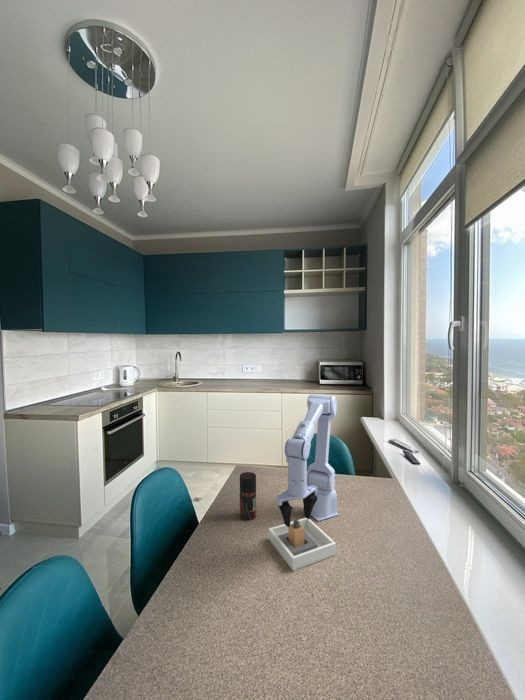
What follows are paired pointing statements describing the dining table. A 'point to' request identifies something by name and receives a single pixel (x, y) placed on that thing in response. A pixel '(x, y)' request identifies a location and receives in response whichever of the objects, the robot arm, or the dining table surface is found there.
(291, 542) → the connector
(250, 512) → the deodorant
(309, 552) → the walled box
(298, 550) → the inlet socket
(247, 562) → the dining table surface
